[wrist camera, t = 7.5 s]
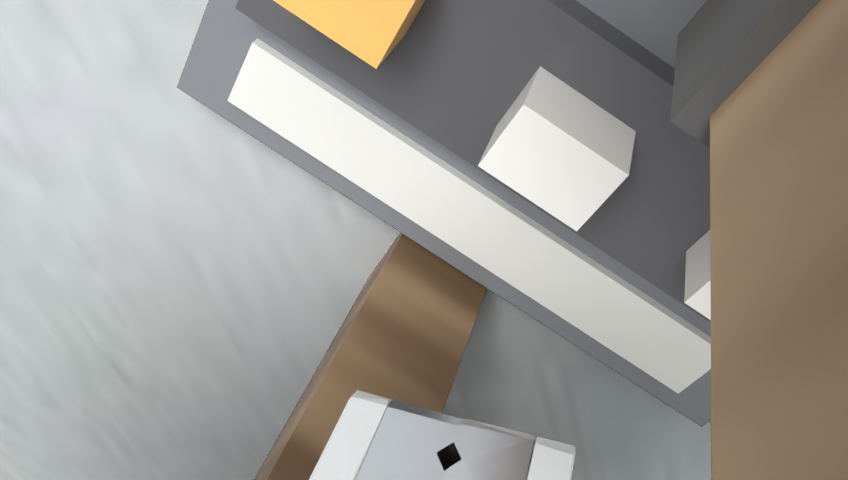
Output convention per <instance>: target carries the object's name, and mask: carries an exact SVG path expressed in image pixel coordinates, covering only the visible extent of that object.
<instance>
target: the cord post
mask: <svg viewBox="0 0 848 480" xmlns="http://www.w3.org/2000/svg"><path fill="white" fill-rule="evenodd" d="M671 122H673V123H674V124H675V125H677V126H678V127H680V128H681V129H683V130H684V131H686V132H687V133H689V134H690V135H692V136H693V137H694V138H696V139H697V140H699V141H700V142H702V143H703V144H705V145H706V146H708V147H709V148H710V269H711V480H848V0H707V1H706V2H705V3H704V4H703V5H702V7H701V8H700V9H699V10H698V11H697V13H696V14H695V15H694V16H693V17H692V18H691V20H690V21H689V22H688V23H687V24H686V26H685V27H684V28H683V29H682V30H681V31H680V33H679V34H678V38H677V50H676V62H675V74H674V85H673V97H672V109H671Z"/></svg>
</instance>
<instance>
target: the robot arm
mask: <svg viewBox="0 0 848 480" xmlns="http://www.w3.org/2000/svg"><path fill="white" fill-rule="evenodd" d="M535 438H536V435H532V434H528V433H524V432H520V431H516V430H512V429H507V428H503V427H499V426H495V425H491V424H487V423H483V422H478V421H474V420H470V419H466V418H463V419H461V418H457V417H454V416H450V415H447V414H443V413H440V412H436V411H433V410H429V409H426V408H422V407H418V406H415V405H411V404H408V403H404V402H401V401H397V400H394V399H389V398H385V397H382V396H378V395H374V394H371V393H367V392H363V391H359V390H357V391H356V392H355V393H354V394H353V395H352V396H351V397H350V398H349V400H348V402H347V404H346V406H345V408H344V410H343V412H342V414H341V416H340V418H339V420H338V422H337V424H336V426H335V428H334V430H333V432H332V434H331V436H330V438H329V440H328V442H327V444H326V446H325V448H324V450H323V452H322V454H321V456H320V458H319V460H318V462H317V464H316V466H315V468H314V470H313V472H312V474H311V476H310V478H309V480H571V477H572V471H573V465H574V459H575V453H576V452H575V446H573V445H570V444H566V443H562V442H558V441H554V440H550V439H546V438H542V437H538V436H537V438H536V441H535ZM534 444H535V446H534ZM533 449H534V450H533ZM532 454H533V455H532Z"/></svg>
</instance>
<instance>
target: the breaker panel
mask: <svg viewBox="0 0 848 480" xmlns="http://www.w3.org/2000/svg"><path fill="white" fill-rule="evenodd" d="M706 1H707V0H209V2H208V4H207V7H206V10H205V12H204V15H203V18H202V21H201V23H200V26H199V29H198V31H197V34H196V37H195V39H194V42H193V45H192V48H191V50H190V53H189V56H188V58H187V61H186V64H185V67H184V69H183V72H182V75H181V77H180V80H179V83H178V85H177V88H179V89H180V90H182V91H183V92H185V93H186V94H188V95H189V96H191V97H192V98H194V99H196V100H197V101H199V102H200V103H202V104H203V105H205V106H206V107H208V108H209V109H211V110H213V111H214V112H216V113H217V114H219V115H220V116H222V117H223V118H225V119H226V120H228V121H230V122H231V123H233V124H234V125H236V126H237V127H239V128H240V129H242V130H243V131H245V132H247V133H248V134H250V135H251V136H253V137H254V138H256V139H257V140H259V141H260V142H262V143H264V144H265V145H267V146H268V147H270V148H271V149H273V150H274V151H276V152H277V153H279V154H281V155H282V156H284V157H285V158H287V159H288V160H290V161H291V162H293V163H294V164H296V165H298V166H299V167H301V168H302V169H304V170H305V171H307V172H308V173H310V174H311V175H313V176H315V177H316V178H318V179H319V180H321V181H322V182H324V183H325V184H327V185H328V186H330V187H332V188H333V189H335V190H336V191H338V192H339V193H341V194H342V195H344V196H345V197H347V198H349V199H350V200H352V201H353V202H355V203H356V204H358V205H359V206H361V207H362V208H364V209H366V210H367V211H369V212H370V213H372V214H373V215H375V216H376V217H378V218H379V219H381V220H383V221H384V222H386V223H387V224H389V225H390V226H392V227H393V228H395V229H396V230H398V231H400V232H401V233H403V234H404V235H406V236H407V237H409V238H410V239H412V240H413V241H415V242H417V243H418V244H420V245H421V246H423V247H424V248H426V249H427V250H429V251H430V252H432V253H434V254H435V255H437V256H438V257H440V258H441V259H443V260H444V261H446V262H447V263H449V264H451V265H452V266H454V267H455V268H457V269H458V270H460V271H461V272H463V273H464V274H466V275H468V276H469V277H471V278H472V279H474V280H475V281H477V282H478V283H480V284H481V285H483V286H485V287H486V288H488V289H489V290H491V291H492V292H494V293H495V294H497V295H498V296H500V297H502V298H503V299H505V300H506V301H508V302H509V303H511V304H512V305H514V306H515V307H517V308H519V309H520V310H522V311H523V312H525V313H526V314H528V315H529V316H531V317H532V318H534V319H536V320H537V321H539V322H540V323H542V324H543V325H545V326H546V327H548V328H549V329H551V330H553V331H554V332H556V333H557V334H559V335H560V336H562V337H563V338H565V339H566V340H568V341H570V342H571V343H573V344H574V345H576V346H577V347H579V348H580V349H582V350H583V351H585V352H587V353H588V354H590V355H591V356H593V357H594V358H596V359H597V360H599V361H600V362H602V363H604V364H605V365H607V366H608V367H610V368H611V369H613V370H614V371H616V372H618V373H619V374H621V375H622V376H624V377H625V378H627V379H628V380H630V381H631V382H633V383H635V384H636V385H638V386H639V387H641V388H642V389H644V390H645V391H647V392H648V393H650V394H652V395H653V396H655V397H656V398H658V399H659V400H661V401H662V402H664V403H665V404H667V405H669V406H670V407H672V408H673V409H675V410H676V411H678V412H679V413H681V414H682V415H684V416H686V417H687V418H689V419H690V420H692V421H693V422H695V423H696V424H698V425H699V426H701V427H702V426H704V425H705V424H706V423H708V422H709V421H711V269H710V148H709V147H708V146H706V145H705V144H703V143H702V142H700V141H699V140H697V139H696V138H694V137H693V136H692V135H690V134H689V133H687V132H686V131H684V130H683V129H681V128H680V127H678V126H677V125H675V124H674V123H673V122H671V109H672V97H673V85H674V74H675V62H676V50H677V38H678V34H679V33H680V31H681V30H682V29H683V28H684V27H685V26H686V24H687V23H688V22H689V21H690V20H691V18H692V17H693V16H694V15H695V14H696V13H697V11H698V10H699V9H700V8H701V7H702V5H703V4H704V3H705V2H706Z"/></svg>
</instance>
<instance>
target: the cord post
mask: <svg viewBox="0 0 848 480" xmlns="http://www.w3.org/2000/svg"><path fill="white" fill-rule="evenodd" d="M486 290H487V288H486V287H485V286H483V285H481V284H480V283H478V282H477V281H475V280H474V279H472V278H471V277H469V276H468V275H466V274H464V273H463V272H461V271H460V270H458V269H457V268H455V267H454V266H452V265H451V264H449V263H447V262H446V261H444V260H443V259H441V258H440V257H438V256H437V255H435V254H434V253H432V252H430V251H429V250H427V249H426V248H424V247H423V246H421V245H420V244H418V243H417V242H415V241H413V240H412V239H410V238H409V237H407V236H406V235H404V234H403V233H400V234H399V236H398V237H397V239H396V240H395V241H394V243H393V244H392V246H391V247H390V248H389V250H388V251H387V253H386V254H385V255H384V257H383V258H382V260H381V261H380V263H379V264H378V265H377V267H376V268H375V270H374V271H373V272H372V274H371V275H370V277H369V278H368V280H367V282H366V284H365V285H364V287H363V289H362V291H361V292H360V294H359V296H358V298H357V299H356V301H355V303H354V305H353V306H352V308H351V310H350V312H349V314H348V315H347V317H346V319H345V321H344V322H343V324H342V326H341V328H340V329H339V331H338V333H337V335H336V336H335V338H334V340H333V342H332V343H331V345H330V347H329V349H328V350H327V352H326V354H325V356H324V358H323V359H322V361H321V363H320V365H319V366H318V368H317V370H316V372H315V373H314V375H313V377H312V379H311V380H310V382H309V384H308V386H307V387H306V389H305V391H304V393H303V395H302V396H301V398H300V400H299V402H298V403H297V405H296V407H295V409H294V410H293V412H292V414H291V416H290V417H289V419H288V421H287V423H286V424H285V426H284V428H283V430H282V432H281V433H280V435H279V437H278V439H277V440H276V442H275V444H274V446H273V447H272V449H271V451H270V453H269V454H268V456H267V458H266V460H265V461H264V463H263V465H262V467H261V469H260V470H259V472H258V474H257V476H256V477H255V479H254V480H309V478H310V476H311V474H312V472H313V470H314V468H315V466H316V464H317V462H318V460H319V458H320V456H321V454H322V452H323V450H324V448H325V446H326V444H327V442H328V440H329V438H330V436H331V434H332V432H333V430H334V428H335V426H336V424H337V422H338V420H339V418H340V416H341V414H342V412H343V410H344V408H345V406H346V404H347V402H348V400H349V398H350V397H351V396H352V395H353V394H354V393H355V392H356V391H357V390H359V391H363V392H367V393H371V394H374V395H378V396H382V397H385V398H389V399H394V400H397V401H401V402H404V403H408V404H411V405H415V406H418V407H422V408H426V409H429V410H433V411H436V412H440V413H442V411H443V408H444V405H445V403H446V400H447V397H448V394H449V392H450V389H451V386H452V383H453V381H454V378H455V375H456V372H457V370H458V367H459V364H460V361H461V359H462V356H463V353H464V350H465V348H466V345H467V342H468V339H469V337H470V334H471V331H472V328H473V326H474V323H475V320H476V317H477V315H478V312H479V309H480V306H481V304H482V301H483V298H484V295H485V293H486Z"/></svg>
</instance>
